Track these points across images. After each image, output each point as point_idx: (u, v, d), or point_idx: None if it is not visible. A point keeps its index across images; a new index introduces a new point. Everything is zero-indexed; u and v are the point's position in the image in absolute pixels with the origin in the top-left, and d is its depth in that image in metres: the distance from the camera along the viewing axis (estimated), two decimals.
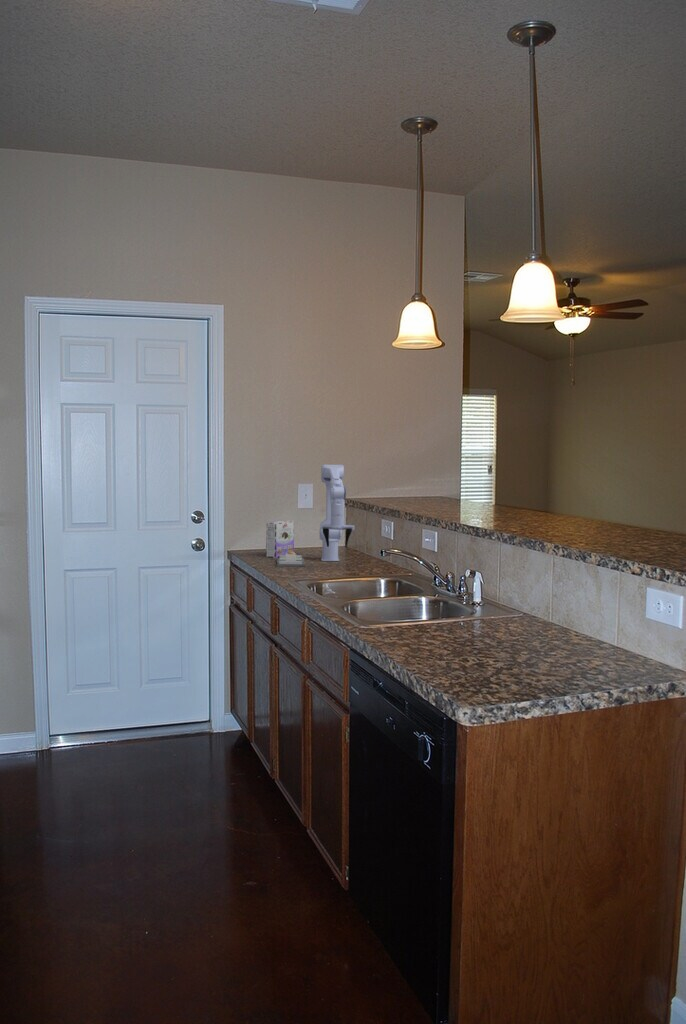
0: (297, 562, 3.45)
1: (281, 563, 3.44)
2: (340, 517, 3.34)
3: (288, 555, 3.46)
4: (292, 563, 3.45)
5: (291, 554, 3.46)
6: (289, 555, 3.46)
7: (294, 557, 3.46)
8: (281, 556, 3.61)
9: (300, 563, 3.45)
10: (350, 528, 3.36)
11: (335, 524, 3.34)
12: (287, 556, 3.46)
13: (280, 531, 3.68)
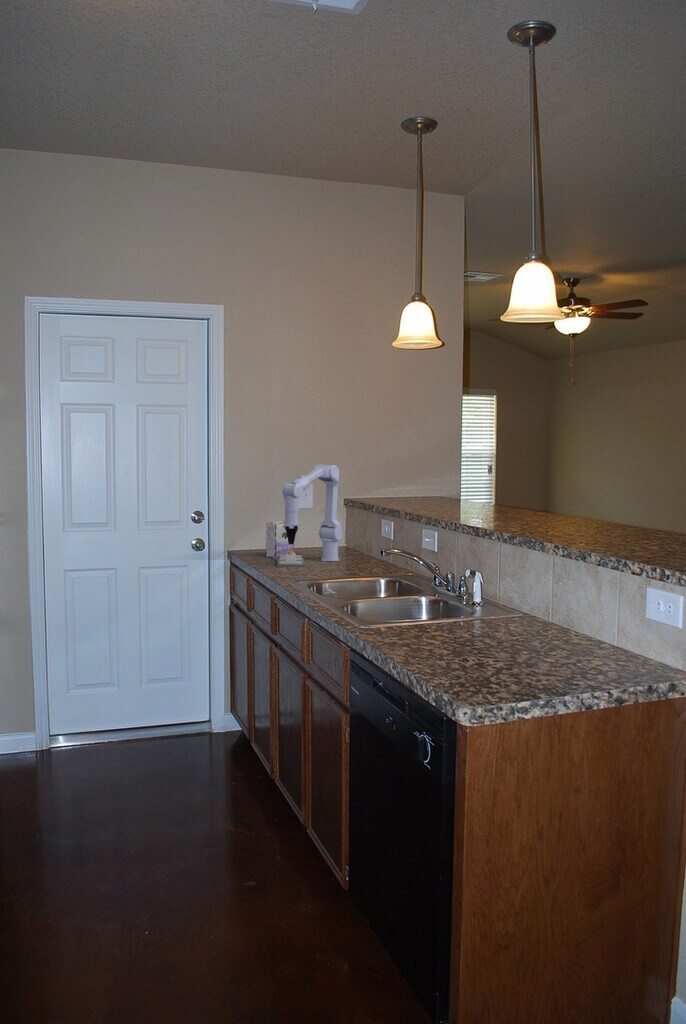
0: (297, 562, 3.45)
1: (281, 563, 3.44)
2: (285, 514, 3.39)
3: (288, 555, 3.46)
4: (292, 563, 3.45)
5: (291, 554, 3.46)
6: (289, 555, 3.46)
7: (294, 557, 3.46)
8: (281, 556, 3.61)
9: (300, 563, 3.45)
10: None
11: None
12: (287, 556, 3.46)
13: (280, 531, 3.68)
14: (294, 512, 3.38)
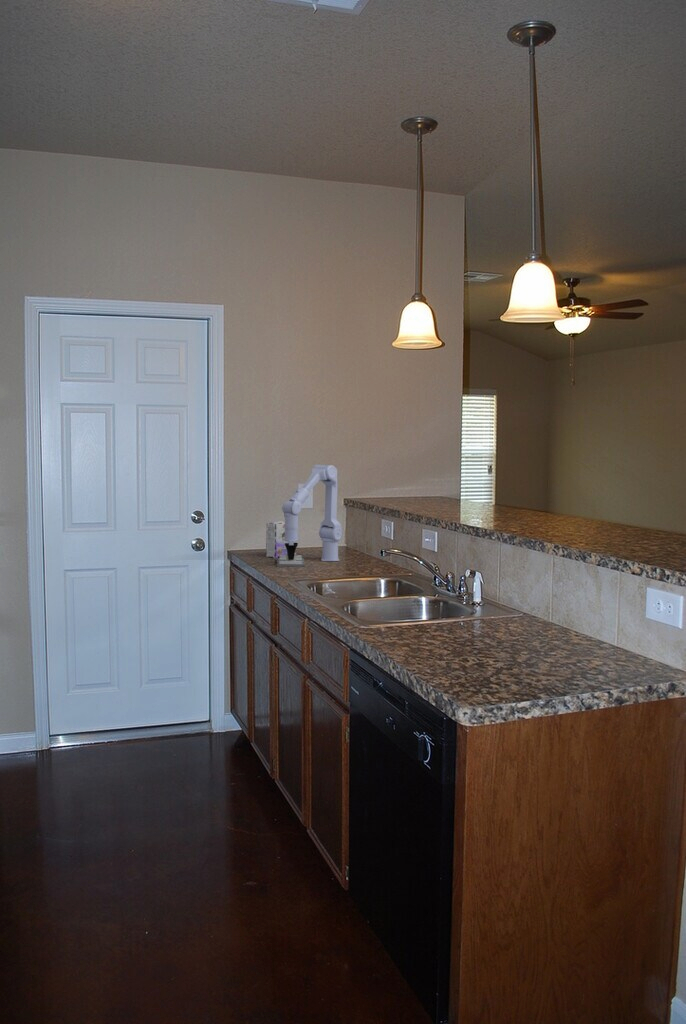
0: (297, 562, 3.45)
1: (281, 563, 3.44)
2: (285, 530, 3.43)
3: None
4: (292, 563, 3.45)
5: None
6: None
7: (294, 557, 3.47)
8: (281, 556, 3.61)
9: (300, 563, 3.45)
10: None
11: None
12: (287, 556, 3.47)
13: (280, 531, 3.68)
14: (294, 529, 3.42)
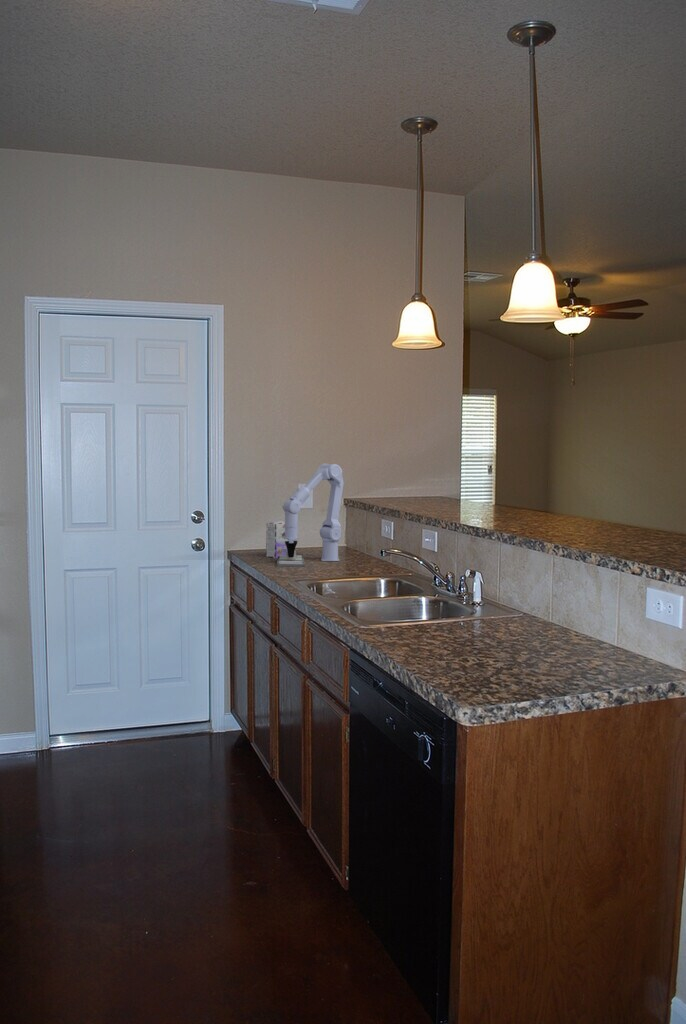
0: (297, 562, 3.45)
1: (281, 563, 3.44)
2: (285, 529, 3.50)
3: None
4: (292, 563, 3.45)
5: None
6: None
7: (294, 554, 3.54)
8: (281, 556, 3.61)
9: (300, 563, 3.45)
10: None
11: None
12: (287, 554, 3.54)
13: (280, 531, 3.68)
14: (294, 527, 3.49)
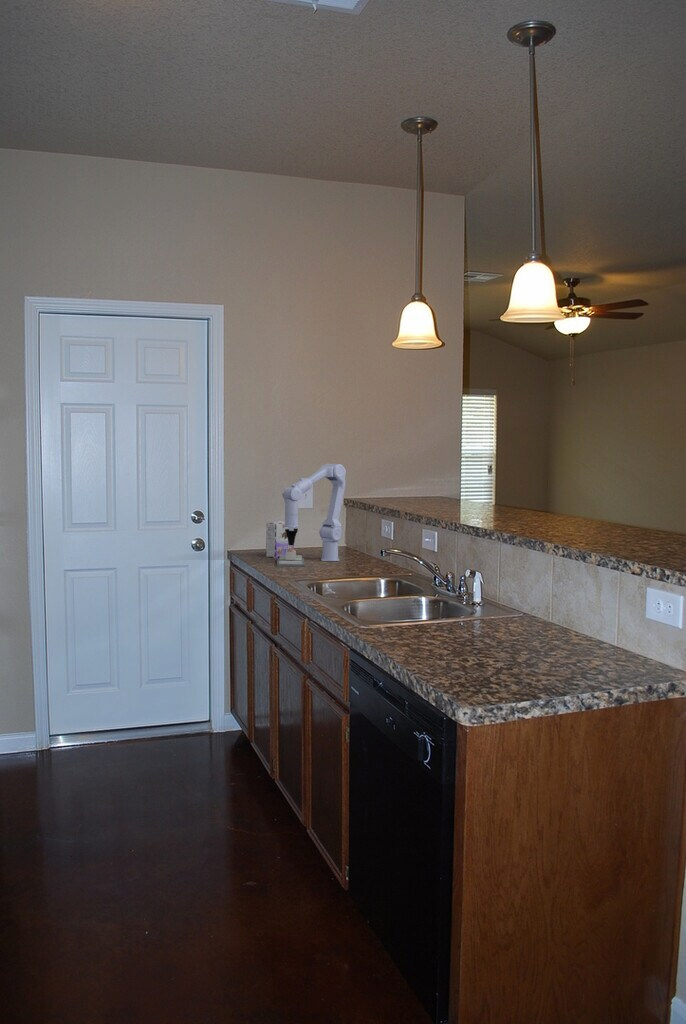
0: (297, 562, 3.45)
1: (281, 563, 3.44)
2: (285, 516, 3.47)
3: (288, 552, 3.54)
4: (292, 563, 3.45)
5: (291, 551, 3.54)
6: (289, 552, 3.54)
7: (294, 554, 3.54)
8: (281, 556, 3.61)
9: (300, 563, 3.45)
10: None
11: None
12: (287, 554, 3.54)
13: (280, 531, 3.68)
14: (294, 515, 3.46)
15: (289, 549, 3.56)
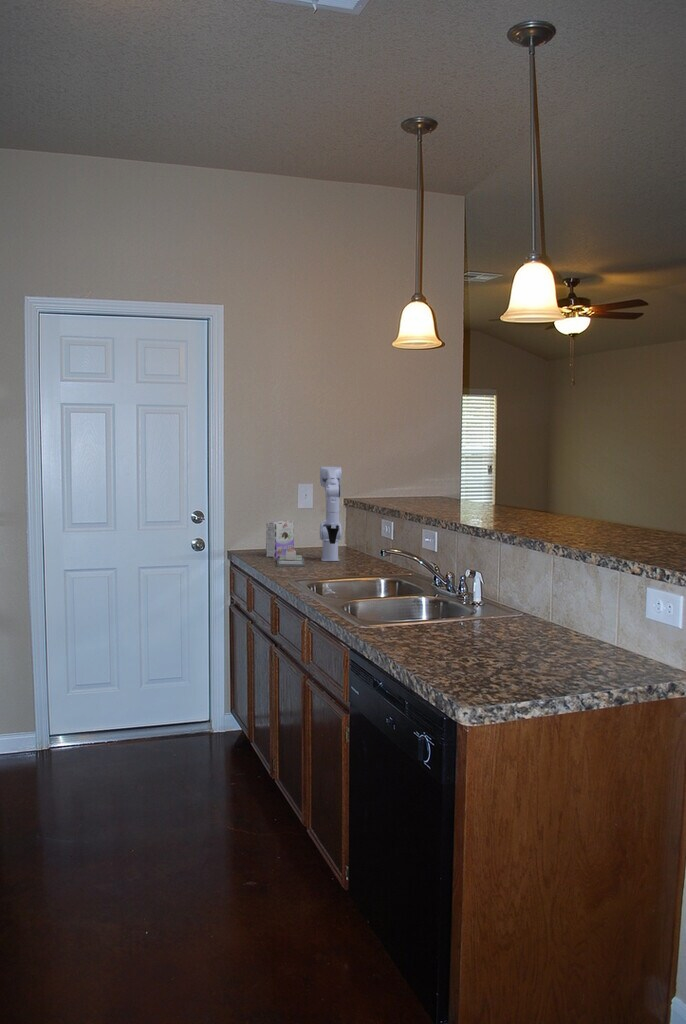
0: (297, 562, 3.45)
1: (281, 563, 3.44)
2: (327, 514, 3.46)
3: (288, 552, 3.54)
4: (292, 563, 3.45)
5: (291, 551, 3.54)
6: (289, 552, 3.54)
7: (294, 554, 3.54)
8: (281, 556, 3.61)
9: (300, 563, 3.45)
10: None
11: None
12: (287, 554, 3.54)
13: (280, 531, 3.68)
14: (335, 512, 3.45)
15: (289, 549, 3.56)
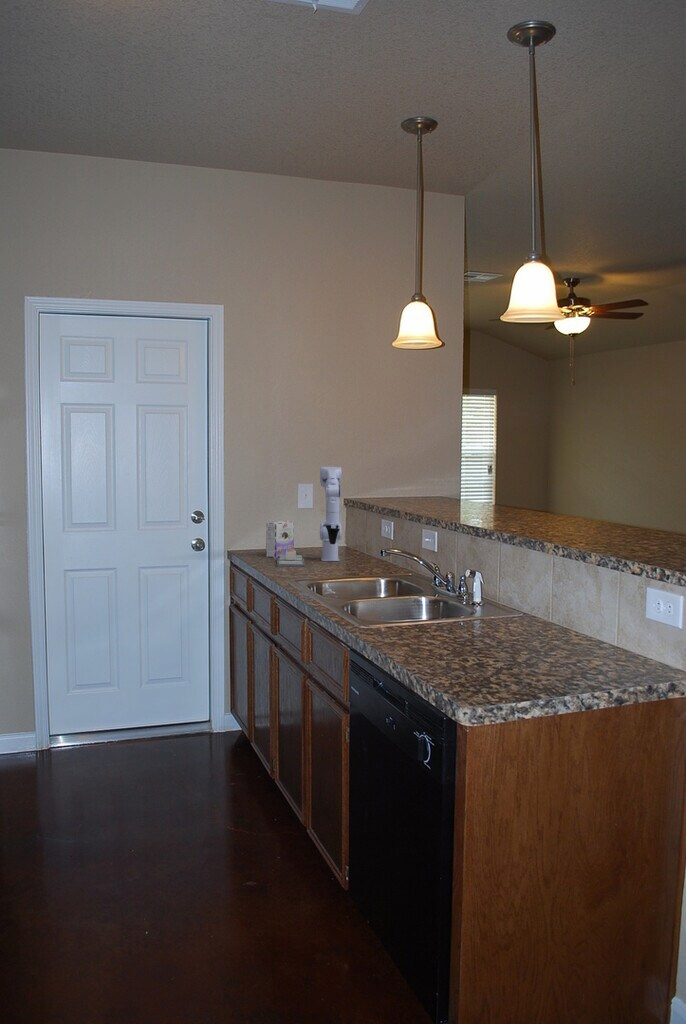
0: (297, 562, 3.45)
1: (281, 563, 3.44)
2: (327, 514, 3.46)
3: (288, 552, 3.54)
4: (292, 563, 3.45)
5: (291, 551, 3.54)
6: (289, 552, 3.54)
7: (294, 554, 3.54)
8: (281, 556, 3.61)
9: (300, 563, 3.45)
10: None
11: None
12: (287, 554, 3.54)
13: (280, 531, 3.68)
14: (335, 512, 3.45)
15: (289, 549, 3.56)
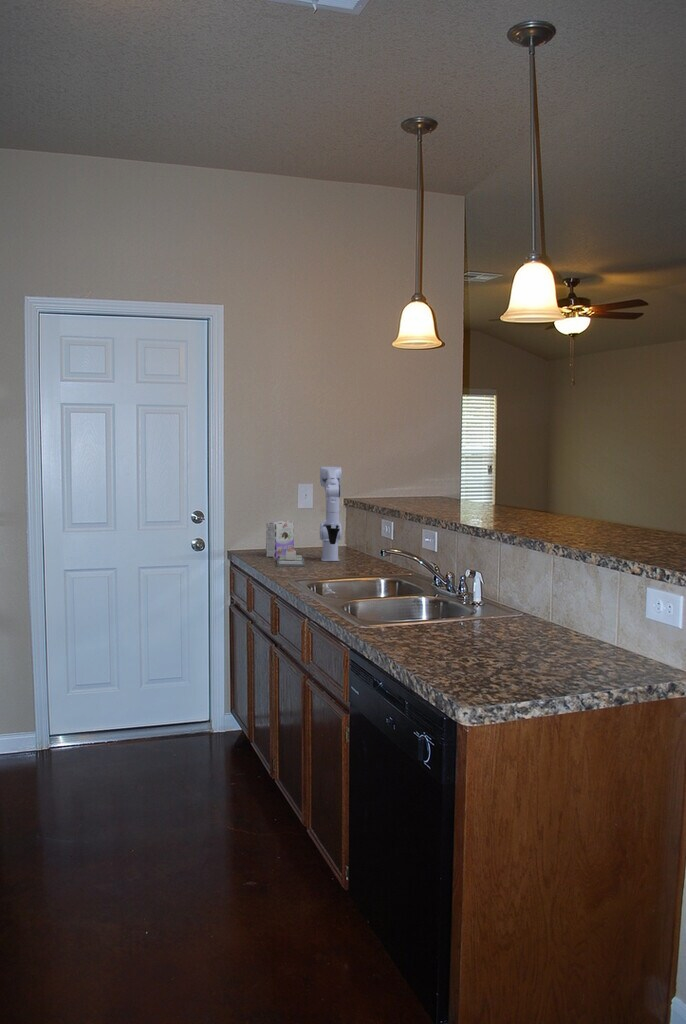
0: (297, 562, 3.45)
1: (281, 563, 3.44)
2: (327, 514, 3.46)
3: (288, 552, 3.54)
4: (292, 563, 3.45)
5: (291, 551, 3.54)
6: (289, 552, 3.54)
7: (294, 554, 3.54)
8: (281, 556, 3.61)
9: (300, 563, 3.45)
10: None
11: None
12: (287, 554, 3.54)
13: (280, 531, 3.68)
14: (335, 512, 3.45)
15: (289, 549, 3.56)
